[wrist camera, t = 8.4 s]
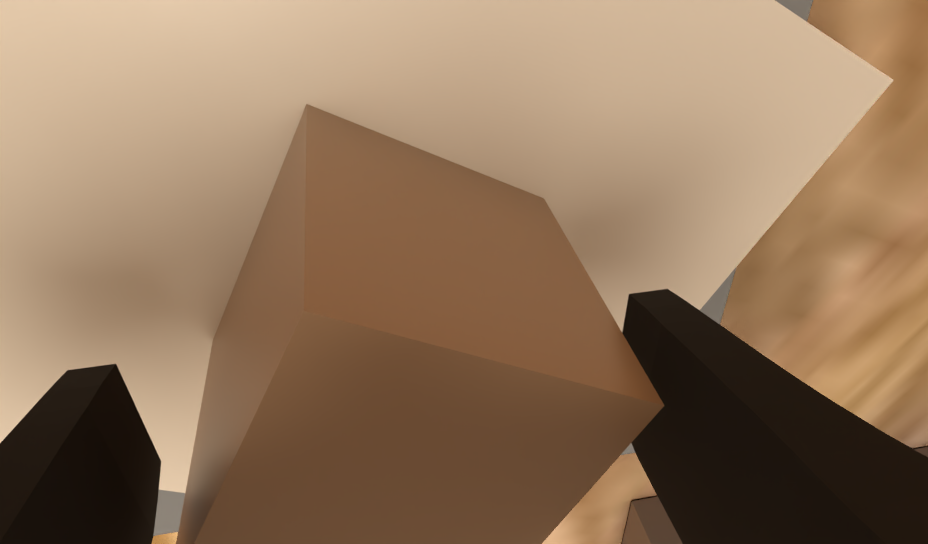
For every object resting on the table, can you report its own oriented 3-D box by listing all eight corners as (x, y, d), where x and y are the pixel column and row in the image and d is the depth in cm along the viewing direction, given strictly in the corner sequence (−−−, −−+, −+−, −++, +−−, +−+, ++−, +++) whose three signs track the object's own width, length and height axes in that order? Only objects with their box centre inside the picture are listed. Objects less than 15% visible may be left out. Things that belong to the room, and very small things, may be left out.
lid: (863, 65, 12) (1196, 226, 8) (502, 511, 19) (565, 746, 14) (-2, -511, 6) (-762, -1258, 2) (-97, 420, 13) (-327, 769, 8)
